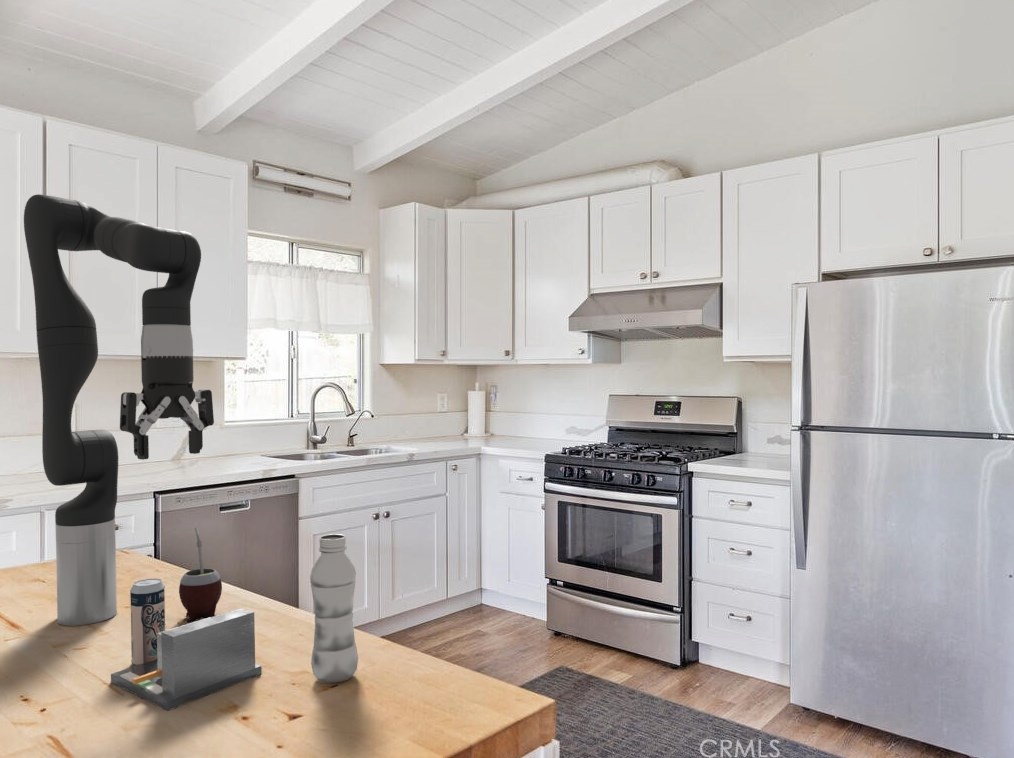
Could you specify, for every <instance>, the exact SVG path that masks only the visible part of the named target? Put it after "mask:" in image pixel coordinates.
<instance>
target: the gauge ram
mask: <svg viewBox="0 0 1014 758" xmlns="http://www.w3.org/2000/svg"><path fill="white" fill-rule="evenodd" d="M209 618H211V617H209ZM204 619H205V618H202V619H198V620H196V621H193V622H191V623H194V622H197V621H201V620H204ZM206 619H208V618H206ZM191 623H187V624H191ZM187 624H182V625H180V626H177V627H181V626H184V625H187ZM177 627H173V628H170V629H165V631H167V630H171V629H174V628H177ZM163 632H164V631H163ZM157 662H158V670H157V671H154V672H151V673H148V674H145V675H142V676H139V677H136V678H133V684H137V683H140V682H143V681H146V680H149V679H152V678H154V677H157V676H158V677H160V678H162V643H161V632H159V633H157Z"/></svg>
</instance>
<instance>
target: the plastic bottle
mask: <svg viewBox="0 0 1014 758" xmlns="http://www.w3.org/2000/svg"><path fill="white" fill-rule="evenodd" d="M346 539H347V538H346V535H345V534H342V533H341V534H339V533H338V534H337V533H331V534H325V535H321V536H320V537H319V540H318V541H319V547H318V551H319V552H320V555H319V556H318V558H317V560H316V561H315V562H314V564H313V566H312V568H311V570H310V575H309V583H310V589H311V595H312V599H313V600H312V602H313V613H314V636H313V638H314V639H313V648H312V653H311V661H310V665H311V670H312V674H313V676H314V677H315V679H316V680H317V681H319V682H321V683H325V684H331V683H332V684H334V683H341V682H345V681H347V680H350V679H351V678H352V677H353V676H354V675H355V673H356V671H357V670H358V664H359V654H358V648H357V644H356V639H355V629H354V628H355V627H354V621H353V619H354V618H353V617H354V612H353V611H354V596H355V589H356V579H357V572H356V568H355V565H354V564H353V562H352V561H351V559H350V558H349V556H347V554H346V553H345V551H346V550H347V544H346V543H347V542H346V541H347V540H346Z"/></svg>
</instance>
